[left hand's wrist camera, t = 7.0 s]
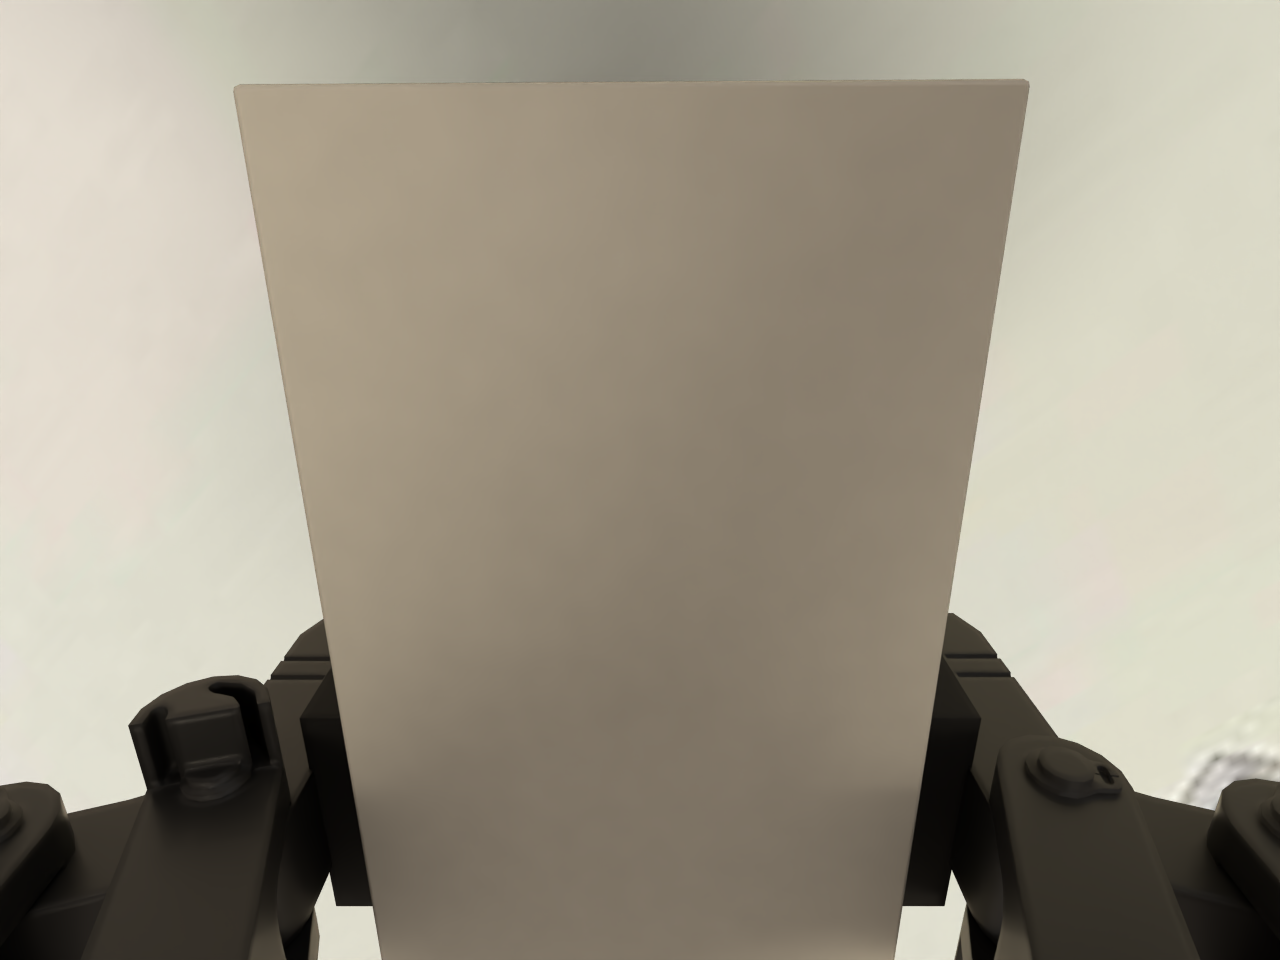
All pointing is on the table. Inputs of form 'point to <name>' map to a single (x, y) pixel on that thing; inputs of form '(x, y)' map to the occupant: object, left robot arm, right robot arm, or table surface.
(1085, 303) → the table surface
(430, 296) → the bar
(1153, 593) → the table surface
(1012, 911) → the left robot arm
